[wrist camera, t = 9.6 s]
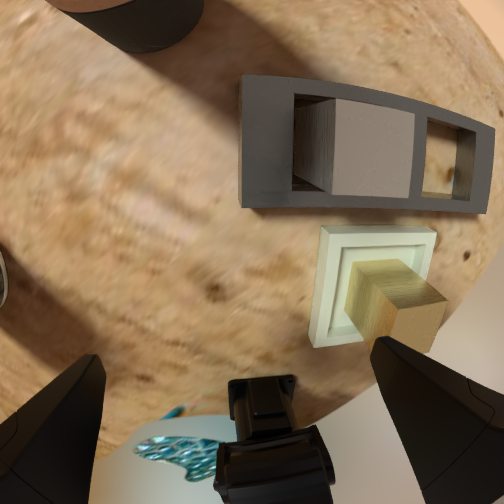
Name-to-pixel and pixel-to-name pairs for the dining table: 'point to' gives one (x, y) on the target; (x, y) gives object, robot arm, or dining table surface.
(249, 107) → the rail
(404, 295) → the beige wooden block
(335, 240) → the tray
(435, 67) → the dining table surface
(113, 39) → the travel mug
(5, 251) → the dining table surface
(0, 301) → the coffee can
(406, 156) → the grey square block
